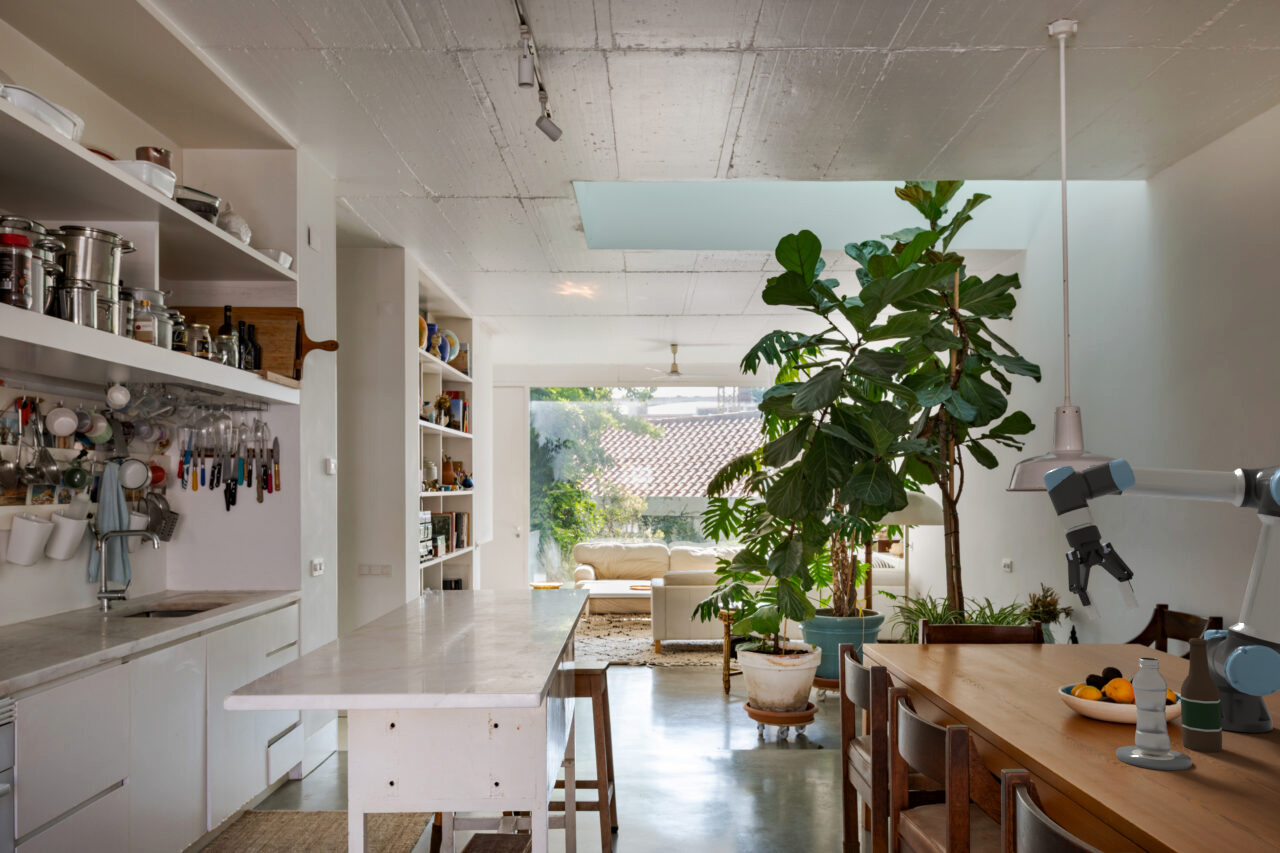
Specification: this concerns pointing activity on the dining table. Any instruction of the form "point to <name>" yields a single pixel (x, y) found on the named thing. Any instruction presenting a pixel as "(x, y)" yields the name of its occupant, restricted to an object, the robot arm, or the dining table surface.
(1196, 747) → the beer bottle
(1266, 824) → the dining table surface
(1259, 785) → the dining table surface
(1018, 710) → the dining table surface
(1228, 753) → the dining table surface
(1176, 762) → the coaster
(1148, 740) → the plastic bottle
